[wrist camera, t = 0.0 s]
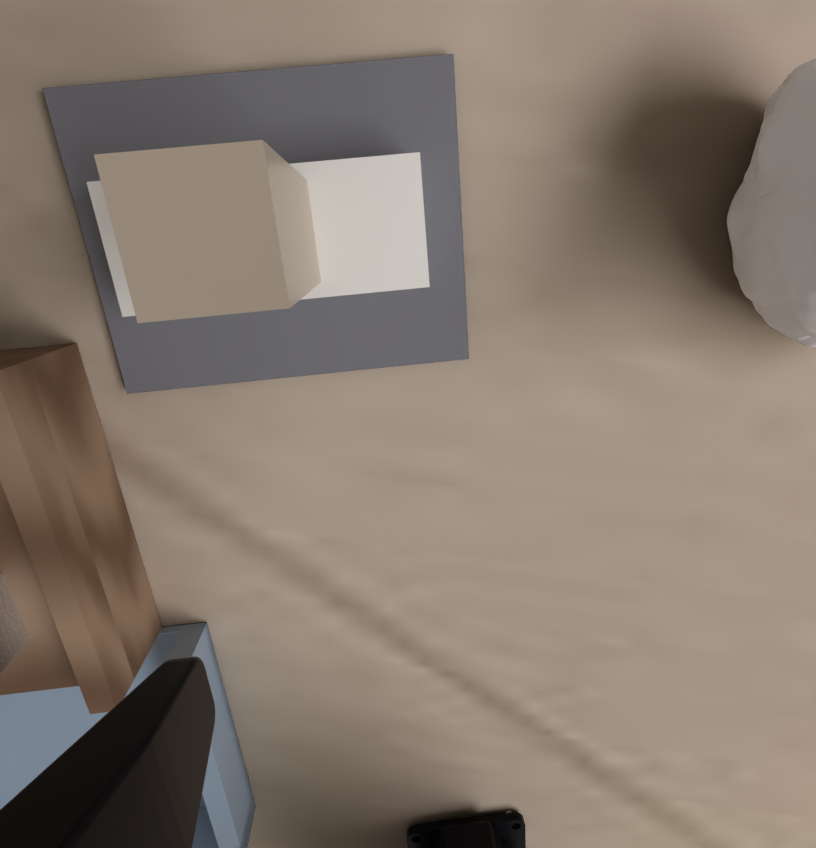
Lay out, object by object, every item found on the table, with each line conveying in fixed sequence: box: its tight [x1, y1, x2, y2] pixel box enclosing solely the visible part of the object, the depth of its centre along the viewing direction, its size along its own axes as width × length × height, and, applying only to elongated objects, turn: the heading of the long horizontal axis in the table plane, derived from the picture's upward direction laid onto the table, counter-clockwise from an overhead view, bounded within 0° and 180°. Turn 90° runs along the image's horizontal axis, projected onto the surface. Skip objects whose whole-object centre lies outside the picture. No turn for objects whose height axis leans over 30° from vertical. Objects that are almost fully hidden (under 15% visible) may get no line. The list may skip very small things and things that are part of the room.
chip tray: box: [0, 622, 256, 848], centre depth 24 cm, size 12×18×3 cm, turn 95°
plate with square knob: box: [86, 140, 430, 323], centre depth 14 cm, size 4×10×9 cm, turn 95°
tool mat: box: [42, 54, 469, 394], centre depth 19 cm, size 10×13×1 cm
